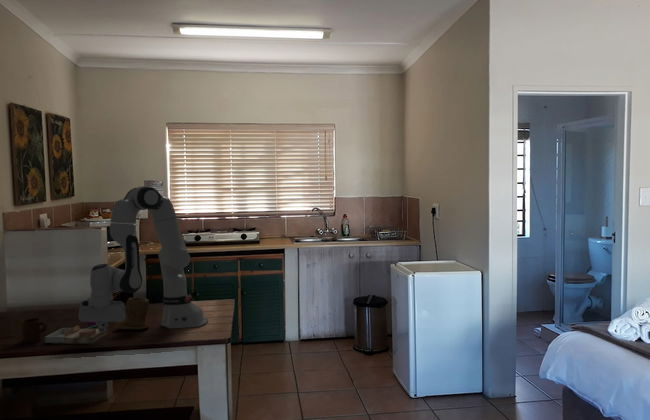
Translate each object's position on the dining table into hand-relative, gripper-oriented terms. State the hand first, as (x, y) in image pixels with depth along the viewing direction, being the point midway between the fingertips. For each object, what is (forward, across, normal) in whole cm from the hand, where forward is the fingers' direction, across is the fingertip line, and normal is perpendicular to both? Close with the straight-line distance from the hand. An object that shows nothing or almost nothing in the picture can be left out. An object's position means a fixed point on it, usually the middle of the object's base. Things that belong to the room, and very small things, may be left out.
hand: (102, 331), depth 229 cm
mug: (+5, +31, 0) cm, 31 cm away
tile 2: (+2, +7, 0) cm, 7 cm away
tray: (+4, +21, -3) cm, 21 cm away
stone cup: (+4, -6, -19) cm, 20 cm away
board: (+4, +10, -3) cm, 11 cm away
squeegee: (+5, +19, -27) cm, 33 cm away
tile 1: (+2, +17, -6) cm, 19 cm away
